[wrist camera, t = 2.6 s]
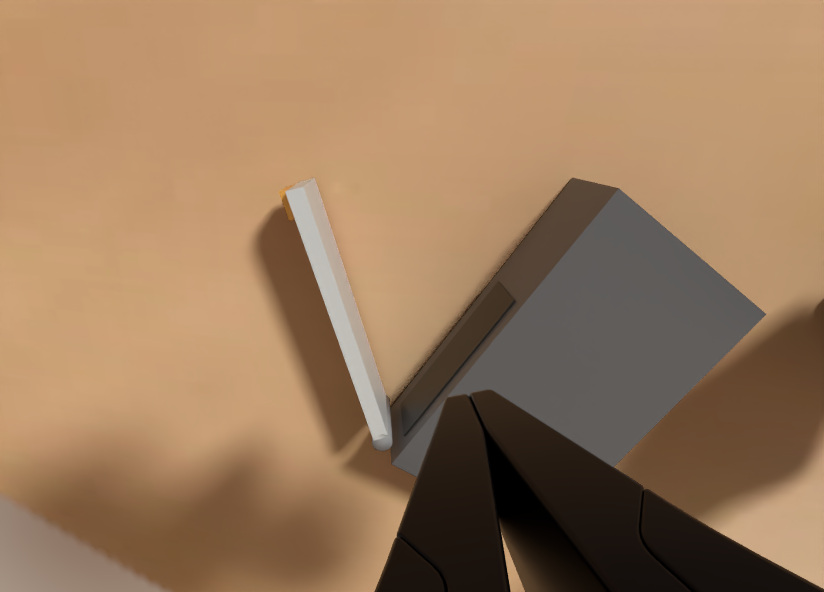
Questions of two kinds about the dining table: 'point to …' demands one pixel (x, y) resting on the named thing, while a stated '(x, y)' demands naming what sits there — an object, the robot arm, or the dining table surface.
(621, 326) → the block
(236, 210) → the dining table surface
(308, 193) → the side door
